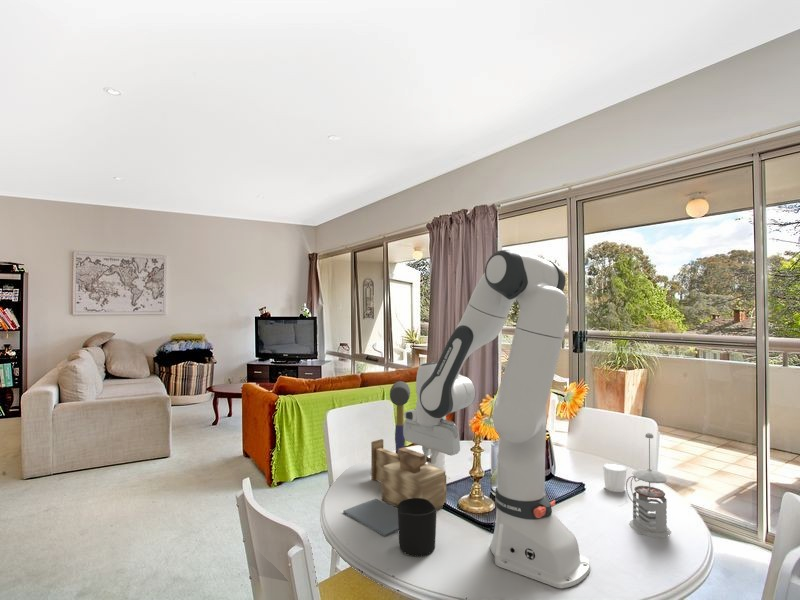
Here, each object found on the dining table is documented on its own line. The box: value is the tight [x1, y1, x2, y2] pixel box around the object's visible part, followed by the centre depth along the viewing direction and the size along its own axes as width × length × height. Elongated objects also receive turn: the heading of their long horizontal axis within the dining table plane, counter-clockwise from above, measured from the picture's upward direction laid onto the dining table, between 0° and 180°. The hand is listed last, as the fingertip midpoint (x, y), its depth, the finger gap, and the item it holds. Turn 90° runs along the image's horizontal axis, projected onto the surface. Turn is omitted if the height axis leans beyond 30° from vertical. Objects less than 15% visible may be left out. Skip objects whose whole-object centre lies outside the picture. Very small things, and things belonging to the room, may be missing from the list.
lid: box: [383, 453, 446, 485], centre depth 135 cm, size 16×11×5 cm
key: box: [398, 446, 427, 465], centre depth 141 cm, size 10×2×2 cm, turn 43°
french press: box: [625, 432, 672, 539], centre depth 121 cm, size 10×12×25 cm
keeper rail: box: [370, 438, 400, 483], centre depth 149 cm, size 12×4×13 cm, turn 43°
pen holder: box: [397, 498, 438, 558], centre depth 111 cm, size 9×9×10 cm
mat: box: [342, 498, 399, 538], centre depth 126 cm, size 18×12×1 cm, turn 43°
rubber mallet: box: [389, 380, 411, 454], centre depth 167 cm, size 12×8×30 cm, turn 178°
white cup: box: [602, 462, 627, 493], centre depth 146 cm, size 7×7×7 cm
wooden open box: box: [381, 470, 447, 511], centre depth 135 cm, size 16×11×9 cm
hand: (430, 462), depth 136 cm, fingers closed
